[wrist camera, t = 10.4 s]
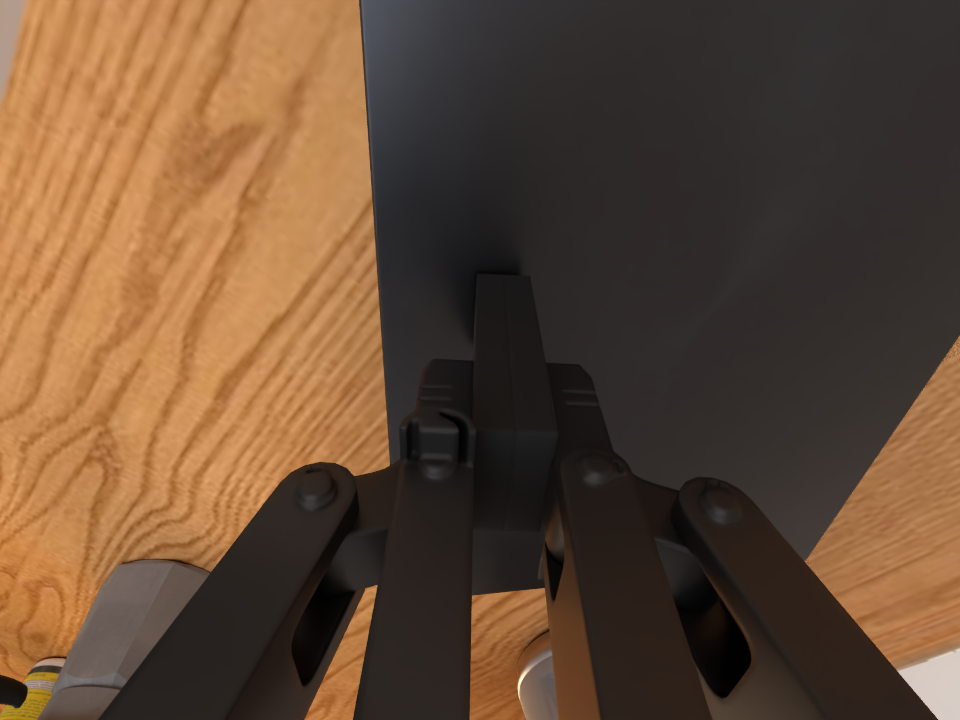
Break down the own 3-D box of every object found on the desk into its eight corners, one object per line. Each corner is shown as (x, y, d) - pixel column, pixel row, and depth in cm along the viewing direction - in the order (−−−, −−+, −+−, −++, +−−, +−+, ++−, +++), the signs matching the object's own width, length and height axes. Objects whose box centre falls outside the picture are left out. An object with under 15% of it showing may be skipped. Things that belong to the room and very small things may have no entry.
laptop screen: (399, 581, 24) (399, 603, 23) (320, -622, 7) (310, -713, 6) (792, 543, 27) (806, 561, 26) (1374, -367, 10) (1467, -403, 9)
